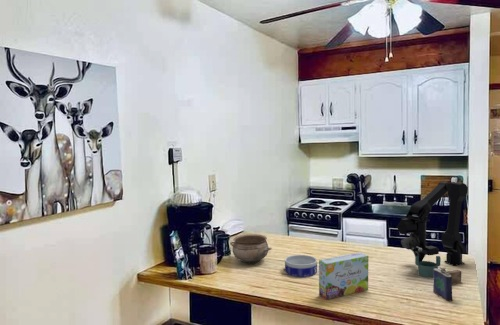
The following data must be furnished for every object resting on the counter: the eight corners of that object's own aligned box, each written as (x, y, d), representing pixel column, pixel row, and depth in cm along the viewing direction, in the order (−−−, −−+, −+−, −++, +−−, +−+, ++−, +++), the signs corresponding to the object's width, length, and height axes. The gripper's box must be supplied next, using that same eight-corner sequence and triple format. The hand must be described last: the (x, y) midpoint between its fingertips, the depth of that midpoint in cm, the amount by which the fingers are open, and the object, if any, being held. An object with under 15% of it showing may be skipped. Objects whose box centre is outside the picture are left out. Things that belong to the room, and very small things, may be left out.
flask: (431, 291, 156) (431, 263, 155) (438, 290, 157) (439, 263, 156) (447, 301, 146) (447, 272, 145) (455, 301, 147) (455, 271, 146)
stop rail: (457, 280, 165) (457, 269, 165) (461, 282, 164) (461, 271, 163) (435, 285, 162) (435, 273, 162) (438, 286, 160) (438, 275, 160)
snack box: (326, 300, 151) (325, 263, 150) (318, 295, 156) (317, 259, 155) (369, 290, 159) (368, 254, 158) (360, 285, 164) (359, 251, 163)
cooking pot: (220, 263, 199) (219, 240, 198) (241, 253, 215) (240, 231, 214) (262, 271, 186) (261, 246, 185) (280, 259, 201) (279, 236, 201)
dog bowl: (293, 264, 194) (292, 252, 194) (321, 269, 186) (321, 256, 186) (279, 274, 181) (279, 262, 181) (310, 279, 173) (309, 266, 173)
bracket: (442, 275, 172) (442, 256, 172) (429, 279, 168) (429, 260, 167) (424, 269, 180) (424, 251, 179) (412, 273, 175) (412, 255, 175)
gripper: (391, 228, 184) (391, 260, 186) (419, 238, 166) (418, 273, 168) (410, 226, 187) (410, 257, 189) (439, 235, 170) (439, 269, 171)
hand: (419, 264), depth 179 cm, fingers closed
